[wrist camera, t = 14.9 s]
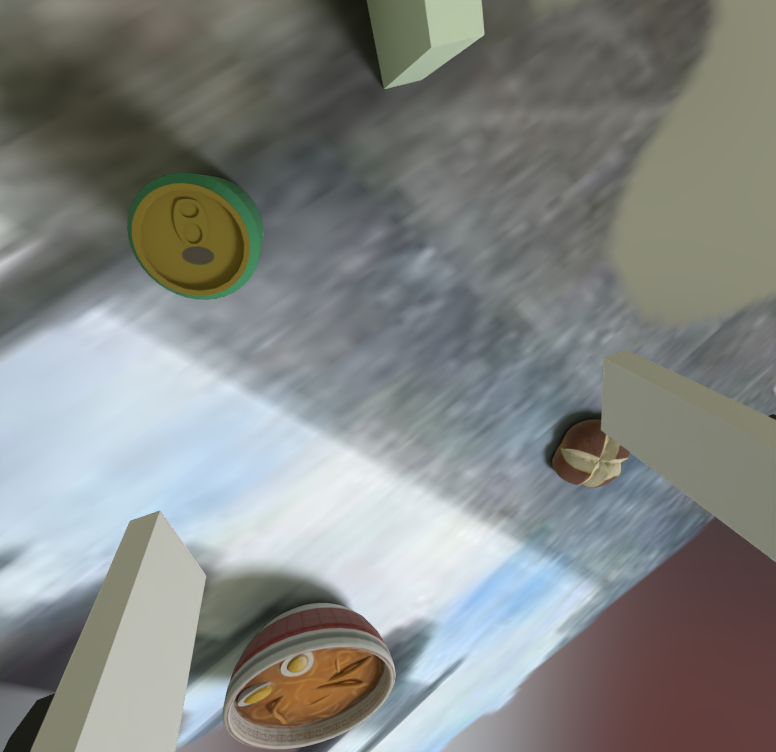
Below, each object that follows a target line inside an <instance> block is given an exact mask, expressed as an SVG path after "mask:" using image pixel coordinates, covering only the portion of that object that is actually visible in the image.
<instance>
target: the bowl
mask: <svg viewBox="0 0 776 752" xmlns="http://www.w3.org/2000/svg"><path fill="white" fill-rule="evenodd" d="M395 676H396V675H395V668H394V663H393V660H392V658H391V655H390V652H389V650H388V648H387V647H386V645H385V643H384V642H383V640H382V638H381V636H380V635H379V633H378V631H377V630H376V629H375V628H374V627H373V626H372V625H371V624H370V623H369V622H368V621H367V620H366V619H365V618H364V617H363V616H361V615H359V614H358V613H356V612H354V611H353V610H351V609H349V608H347V607H345V606H341V605H338V604H331V603H312V604H306V605H302V606H299V607H296V608H294V609H291V610H289V611H287V612H285V613H283V614H281V615H279V616H277V617H276V618H274V619H273V620H272V621H270V622H269V623H268V624H267V625H265V626H264V627H263V629H262V630H261V631H260V632H259V633H258V634H257V635H256V636H255V637H254V638H253V640H252V641H251V642H250V643H249V644H248V646H247V648H246V649H245V651H244V653H243V654H242V656H241V658H240V659H239V661H238V663H237V665H236V667H235V669H234V671H233V674H232V677H231V680H230V683H229V685H228V688H227V692H226V697H225V702H224V707H223V721H224V725H225V727H226V729H227V731H228V733H229V734H230V735H232V736H233V737H234V738H235V739H236V740H237V741H239V742H241V743H244V744H246V745H248V746H252V747H257V748H263V749H274V750H275V749H291V748H298V747H304V746H308V745H312V744H316V743H320V742H322V741H325V740H328V739H331V738H334V737H336V736H338V735H340V734H342V733H344V732H347V731H349V730H350V729H352V728H354V727H355V726H357V725H359V724H360V723H362V722H363V721H365V720H366V719H367V718H369V717H370V716H371V715H372V714H374V713H375V712H376V711H377V710H378V709H379V708H380V707H381V706H382V704H383V703H384V702H385V700H386V699H387V698H388V696H389V694H390V692H391V690H392V688H393V686H394V681H395Z"/></svg>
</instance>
